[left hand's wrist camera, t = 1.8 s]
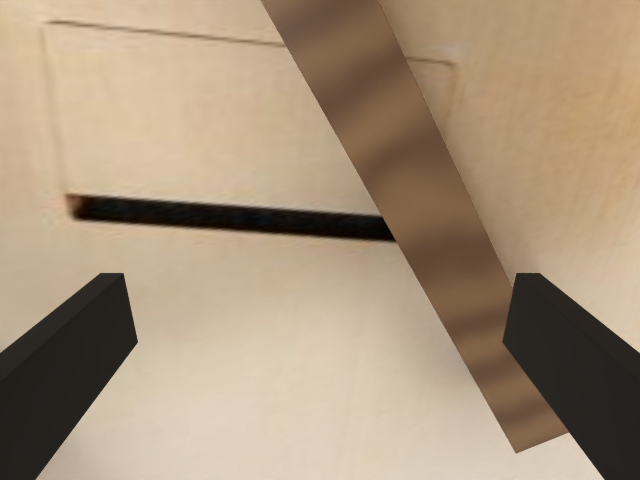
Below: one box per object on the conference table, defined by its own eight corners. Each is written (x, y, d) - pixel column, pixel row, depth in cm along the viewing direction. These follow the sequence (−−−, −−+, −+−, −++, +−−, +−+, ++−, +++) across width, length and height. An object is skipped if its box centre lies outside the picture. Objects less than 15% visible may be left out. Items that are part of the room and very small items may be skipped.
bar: (527, 364, 40) (577, 429, 32) (478, 386, 41) (516, 453, 33) (120, -464, 20) (-4, -819, 12) (44, -384, 21) (-114, -665, 13)
